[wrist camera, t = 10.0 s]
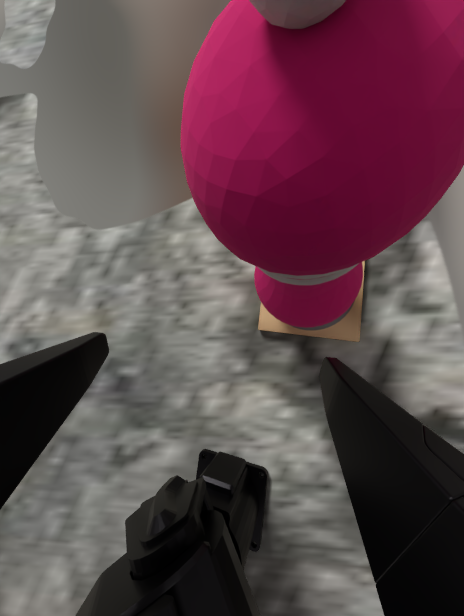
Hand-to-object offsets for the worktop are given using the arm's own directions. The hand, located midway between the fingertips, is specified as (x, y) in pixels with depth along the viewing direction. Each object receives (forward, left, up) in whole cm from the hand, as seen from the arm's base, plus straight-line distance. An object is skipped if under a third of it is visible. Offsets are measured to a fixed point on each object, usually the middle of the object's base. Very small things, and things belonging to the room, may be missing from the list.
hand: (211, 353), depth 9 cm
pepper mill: (+6, -3, -12) cm, 14 cm away
